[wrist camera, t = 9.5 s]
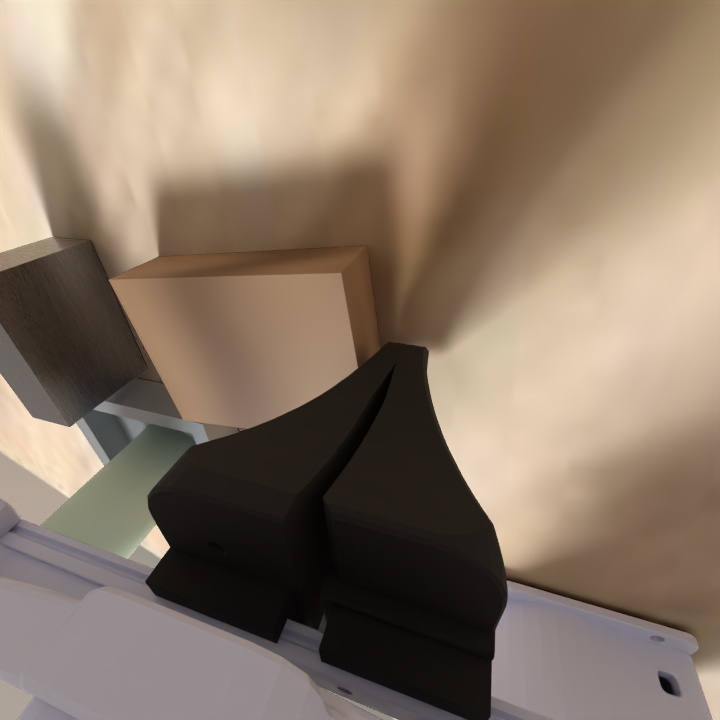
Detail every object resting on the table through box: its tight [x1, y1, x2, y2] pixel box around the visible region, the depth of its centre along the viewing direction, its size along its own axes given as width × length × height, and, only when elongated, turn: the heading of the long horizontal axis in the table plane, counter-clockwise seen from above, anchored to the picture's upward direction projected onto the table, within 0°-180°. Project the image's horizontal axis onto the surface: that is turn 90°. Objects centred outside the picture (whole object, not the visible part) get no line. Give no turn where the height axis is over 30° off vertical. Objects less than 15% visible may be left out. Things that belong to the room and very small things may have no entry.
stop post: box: [0, 237, 147, 427], centre depth 14 cm, size 2×6×4 cm, turn 3°
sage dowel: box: [40, 424, 197, 559], centre depth 17 cm, size 4×4×6 cm
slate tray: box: [76, 378, 238, 466], centre depth 20 cm, size 8×8×2 cm
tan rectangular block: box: [109, 245, 381, 429], centre depth 13 cm, size 8×6×2 cm
